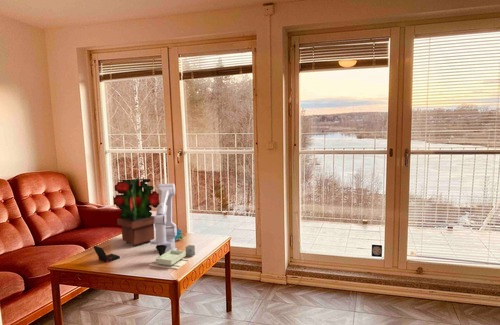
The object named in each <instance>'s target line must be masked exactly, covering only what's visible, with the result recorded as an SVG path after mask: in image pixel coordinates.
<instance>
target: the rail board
mask: <svg viewBox="0 0 500 325" xmlns="http://www.w3.org/2000/svg"><path fill="white" fill-rule="evenodd" d="M190 261H191V259H188V258H184V257H183V258H182V259H181V260H178V261H177V262H175V263H174V264H173V265H166V264H158V263H156V260H154V261H152V262H150V263H149V266H150V267H157V268H164V269H165V268H167V269H173V270H179V269H181V267H184V265H186V264H187V263H189V262H190Z"/></svg>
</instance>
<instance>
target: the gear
mask: <svg viewBox="0 0 500 325" xmlns="http://www.w3.org/2000/svg"><path fill="white" fill-rule="evenodd" d="M178 240H182V241H183V240H184V236H183V232H182V229H180V228H177V235H176V236H175V242H177V241H178Z"/></svg>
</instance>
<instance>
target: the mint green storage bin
mask: <svg viewBox="0 0 500 325" xmlns="http://www.w3.org/2000/svg"><path fill="white" fill-rule="evenodd" d="M184 257H186V250H178V249H177V250H169V251H168V252H165V253H164V254H163V255H161V256H160V255H158V257H156V258H155V261H156V263H158V264H166V265H173V264H174V263H175V262H177V261H178V260H181V259H182V258H183V259H184Z"/></svg>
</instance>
